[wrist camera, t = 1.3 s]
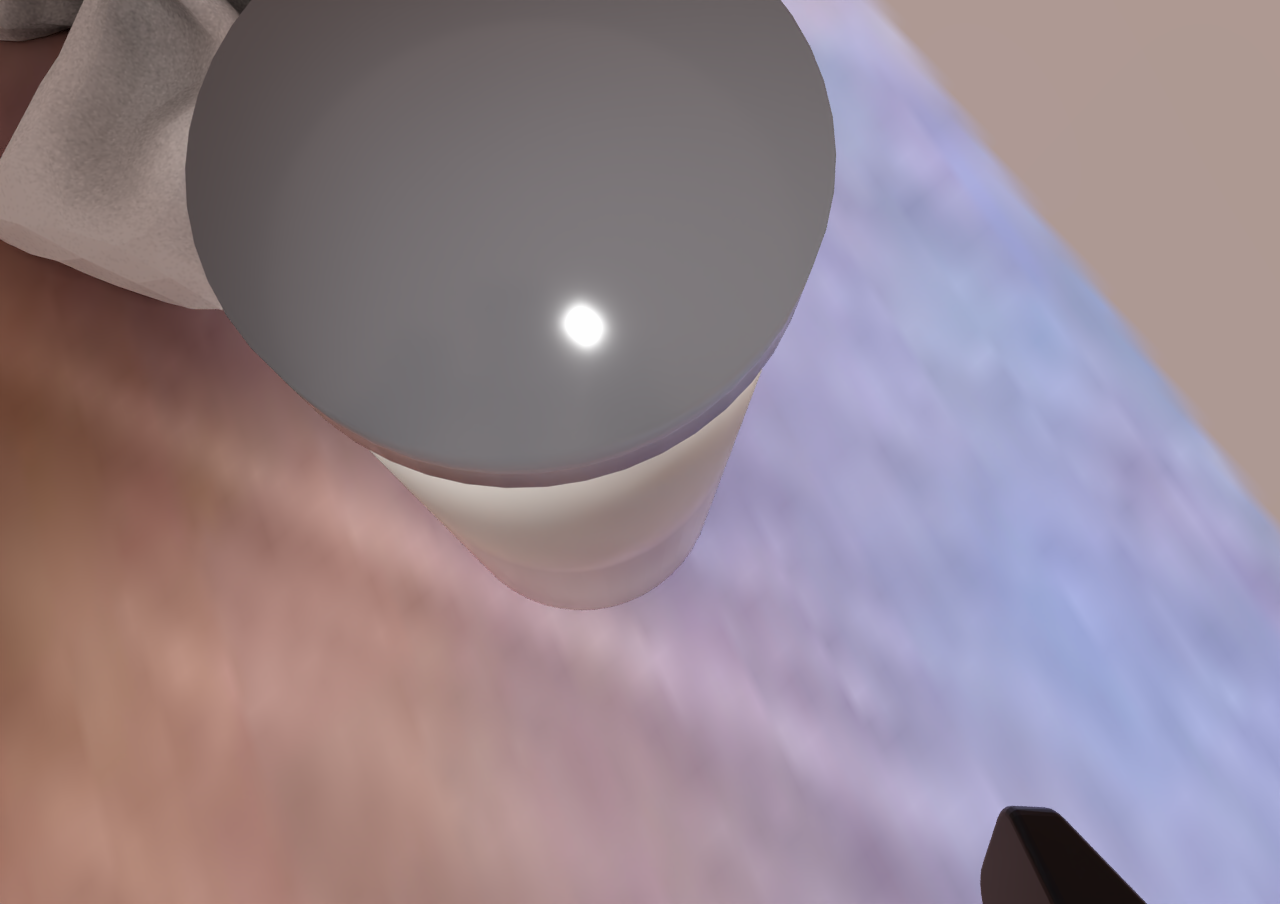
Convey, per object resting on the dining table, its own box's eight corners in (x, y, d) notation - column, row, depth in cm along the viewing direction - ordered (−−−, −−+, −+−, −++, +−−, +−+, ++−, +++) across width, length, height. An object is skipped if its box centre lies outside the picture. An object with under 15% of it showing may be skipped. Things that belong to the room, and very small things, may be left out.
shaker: (755, 559, 21) (943, 320, 8) (499, 655, 21) (281, 556, 8) (660, 324, 22) (696, -188, 10) (418, 407, 22) (120, -21, 9)
